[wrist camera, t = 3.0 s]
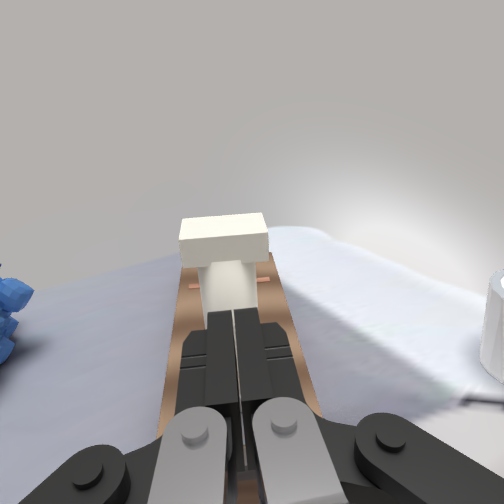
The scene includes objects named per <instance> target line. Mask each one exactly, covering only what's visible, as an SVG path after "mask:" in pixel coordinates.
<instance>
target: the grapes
mask: <svg viewBox="0 0 504 504" xmlns="http://www.w3.org/2000/svg"><path fill="white" fill-rule="evenodd" d="M0 266H1V264H0ZM33 292H34V290H33V289H32V288H31V287H29V286H28V285H26V284H25V283H23V282H21V281H19V280H17V279H13V278H6V279H2V278H0V364H2V363H3V362H4V361H5V360H6V359H7V358H8V356H9V355H10V353H11V351H12V350H13V348H14V345H15V343H14V342H12V341H11V340H10V339H9V338H10V336H11V335H12V333H13V332H14V330H15V329H16V327H17V325H18V323H19V322H18V321H16V320H15V319H14V318H12V317H11V316H10V315H11V313H12V312H19V311H20V310H22V309H23V308H24V307H25V306H26V304H27V303H28V301H29V300H30V298H31V297H32V294H33Z"/></svg>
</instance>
